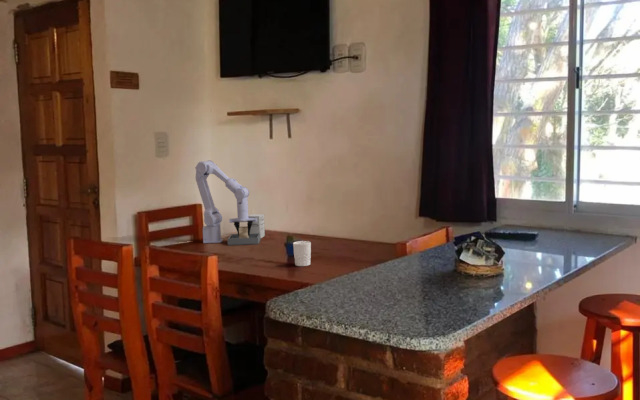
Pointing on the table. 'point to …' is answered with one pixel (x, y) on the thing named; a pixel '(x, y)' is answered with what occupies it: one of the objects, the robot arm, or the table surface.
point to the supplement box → (258, 224)
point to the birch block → (243, 232)
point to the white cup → (302, 253)
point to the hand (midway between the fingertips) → (244, 235)
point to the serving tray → (244, 239)
